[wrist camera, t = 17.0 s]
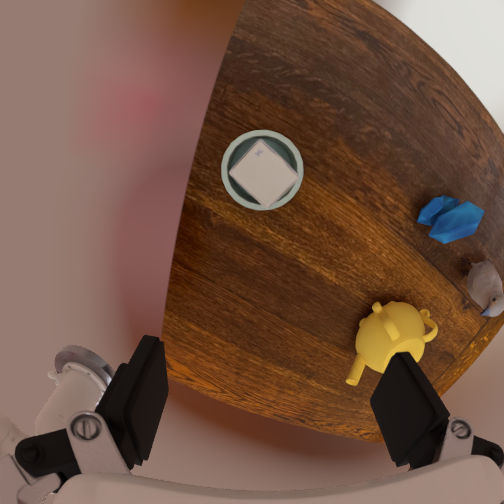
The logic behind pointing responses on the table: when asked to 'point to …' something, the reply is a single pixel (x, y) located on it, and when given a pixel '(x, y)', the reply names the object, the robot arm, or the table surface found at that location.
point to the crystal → (450, 218)
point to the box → (264, 174)
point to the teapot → (390, 336)
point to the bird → (485, 287)
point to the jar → (242, 146)
